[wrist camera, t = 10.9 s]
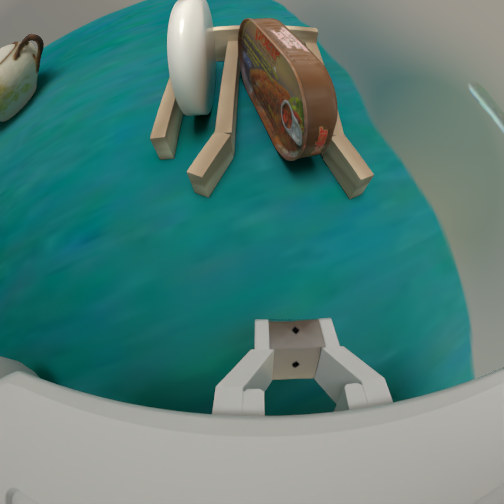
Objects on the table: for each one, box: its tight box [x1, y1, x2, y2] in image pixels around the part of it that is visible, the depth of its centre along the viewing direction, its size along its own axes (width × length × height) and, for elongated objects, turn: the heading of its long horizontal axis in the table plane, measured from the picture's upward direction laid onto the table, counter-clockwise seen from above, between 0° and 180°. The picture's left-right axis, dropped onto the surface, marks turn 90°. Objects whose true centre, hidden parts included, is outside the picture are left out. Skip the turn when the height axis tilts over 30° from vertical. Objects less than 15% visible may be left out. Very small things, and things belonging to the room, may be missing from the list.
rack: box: [150, 26, 374, 199], centre depth 21 cm, size 16×19×4 cm
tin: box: [238, 18, 338, 161], centre depth 19 cm, size 15×3×8 cm, turn 17°
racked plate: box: [167, 0, 216, 116], centre depth 18 cm, size 2×11×11 cm, turn 0°
